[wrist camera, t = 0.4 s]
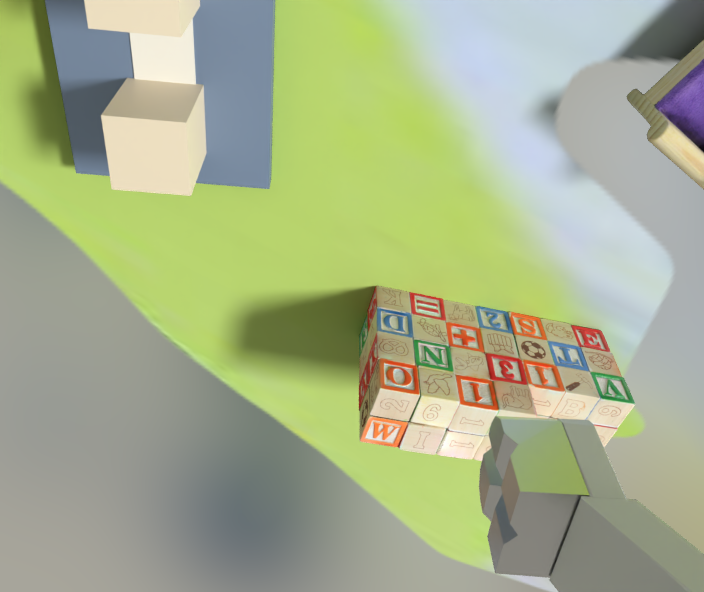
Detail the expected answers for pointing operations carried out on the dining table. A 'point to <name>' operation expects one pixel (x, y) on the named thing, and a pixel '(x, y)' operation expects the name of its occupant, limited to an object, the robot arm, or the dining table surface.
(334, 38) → the dining table surface
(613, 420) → the stack of blocks
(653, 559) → the robot arm
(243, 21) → the board
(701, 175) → the toy sofa
